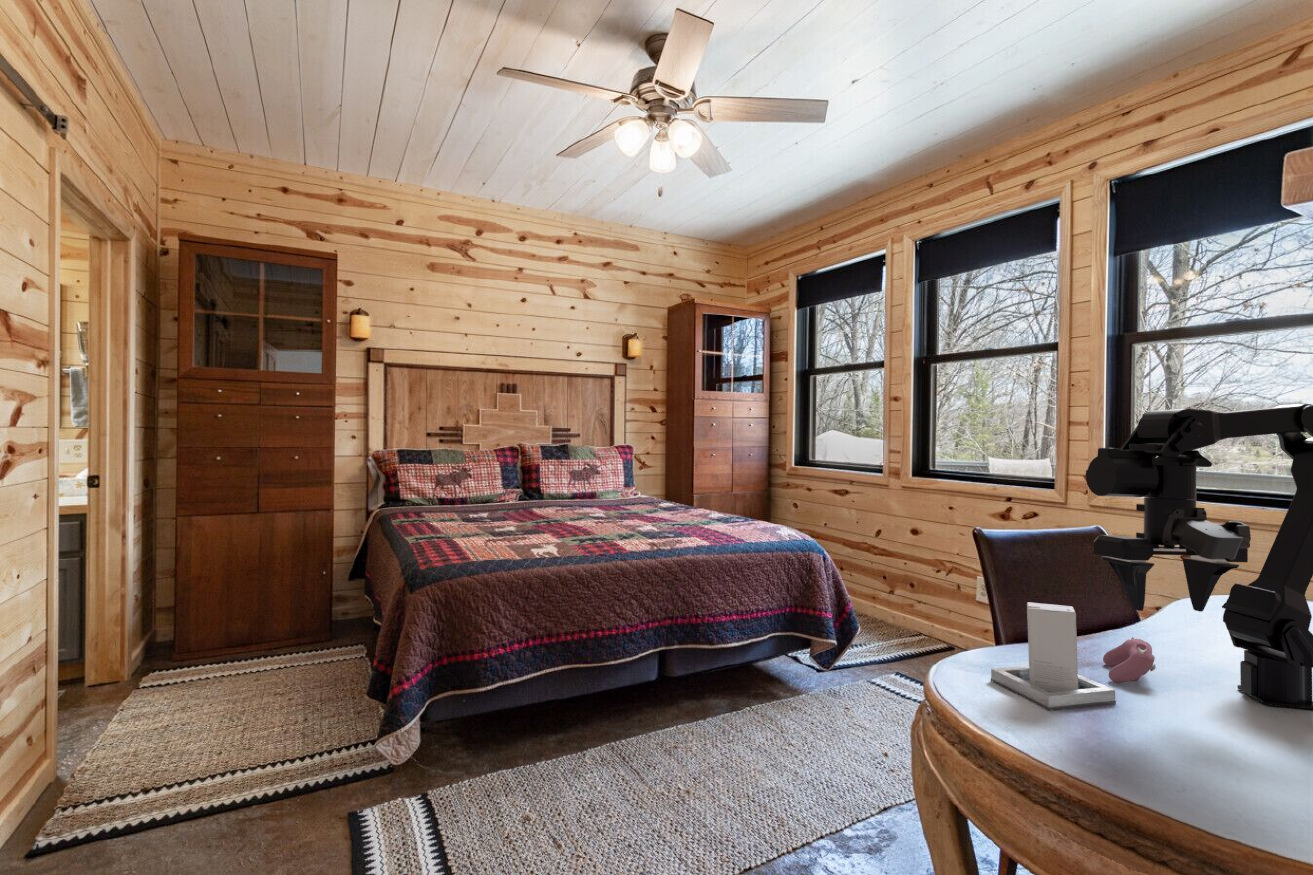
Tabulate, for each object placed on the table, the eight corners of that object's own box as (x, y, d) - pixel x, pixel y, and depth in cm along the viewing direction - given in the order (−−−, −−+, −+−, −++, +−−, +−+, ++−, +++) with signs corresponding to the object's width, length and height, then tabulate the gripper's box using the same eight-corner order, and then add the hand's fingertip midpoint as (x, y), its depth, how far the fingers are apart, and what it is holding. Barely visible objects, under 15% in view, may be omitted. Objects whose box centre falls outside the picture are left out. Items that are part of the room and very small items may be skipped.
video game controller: (1139, 697, 95) (1165, 659, 93) (1106, 678, 97) (1131, 640, 95) (1130, 676, 103) (1154, 641, 102) (1099, 659, 105) (1122, 624, 104)
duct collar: (1052, 675, 100) (1051, 663, 100) (1116, 703, 89) (1115, 689, 89) (990, 680, 97) (990, 668, 97) (1048, 710, 87) (1048, 696, 87)
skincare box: (1075, 687, 94) (1074, 605, 94) (1079, 698, 90) (1078, 612, 90) (1027, 680, 96) (1026, 600, 97) (1028, 690, 92) (1027, 607, 93)
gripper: (1161, 500, 80) (1160, 625, 80) (1291, 504, 82) (1291, 626, 82) (1091, 495, 91) (1089, 604, 91) (1207, 499, 93) (1207, 606, 93)
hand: (1168, 610), depth 89 cm, fingers open, 9 cm apart
